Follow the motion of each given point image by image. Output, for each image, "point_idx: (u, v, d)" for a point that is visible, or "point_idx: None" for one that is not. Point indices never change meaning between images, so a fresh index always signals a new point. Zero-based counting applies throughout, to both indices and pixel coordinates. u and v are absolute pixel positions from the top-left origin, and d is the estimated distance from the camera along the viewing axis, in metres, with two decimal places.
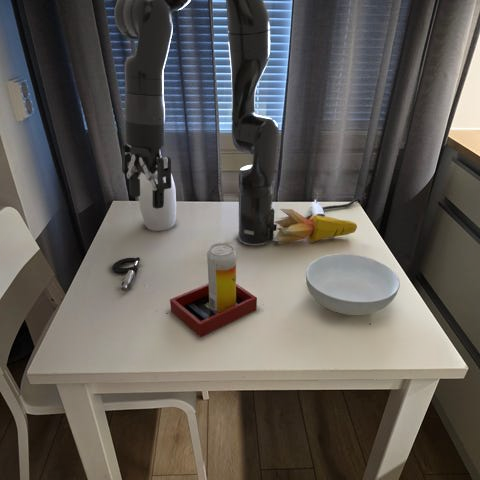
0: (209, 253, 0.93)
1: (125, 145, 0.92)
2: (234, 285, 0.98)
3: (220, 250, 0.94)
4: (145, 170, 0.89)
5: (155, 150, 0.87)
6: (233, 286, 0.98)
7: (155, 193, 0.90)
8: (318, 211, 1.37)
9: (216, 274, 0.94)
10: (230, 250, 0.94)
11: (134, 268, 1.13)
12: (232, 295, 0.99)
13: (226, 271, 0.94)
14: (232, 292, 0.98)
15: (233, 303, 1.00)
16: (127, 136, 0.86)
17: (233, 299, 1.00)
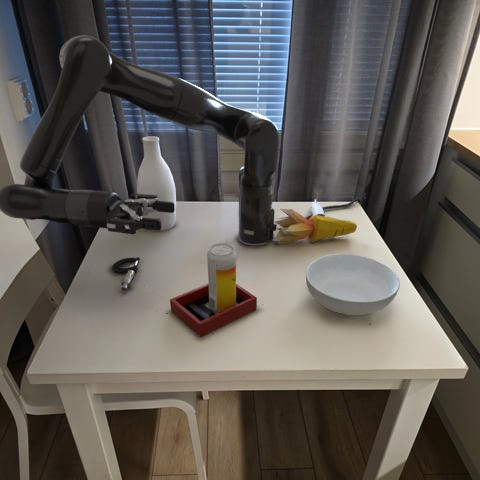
0: (209, 253, 0.93)
1: None
2: (234, 285, 0.98)
3: (220, 250, 0.94)
4: None
5: None
6: (233, 286, 0.98)
7: None
8: (318, 211, 1.37)
9: (216, 274, 0.94)
10: (230, 250, 0.94)
11: (134, 268, 1.13)
12: (232, 295, 0.99)
13: (226, 271, 0.94)
14: (232, 292, 0.98)
15: (233, 303, 1.00)
16: None
17: (233, 299, 1.00)
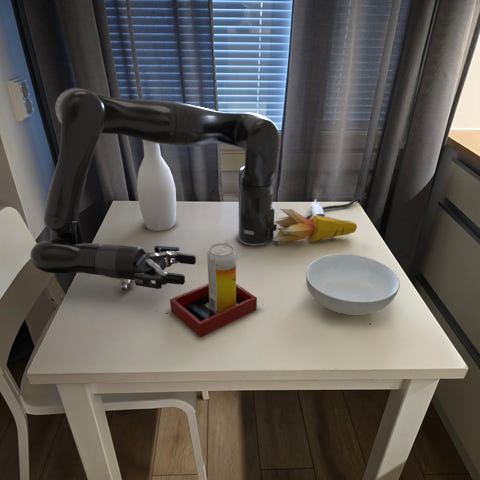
0: (209, 253, 0.93)
1: None
2: (234, 285, 0.98)
3: (220, 250, 0.94)
4: None
5: (135, 273, 0.98)
6: (233, 286, 0.98)
7: None
8: (318, 211, 1.37)
9: (216, 274, 0.94)
10: (230, 250, 0.94)
11: None
12: (232, 295, 0.99)
13: (226, 271, 0.94)
14: (232, 292, 0.98)
15: (233, 303, 1.00)
16: None
17: (233, 299, 1.00)
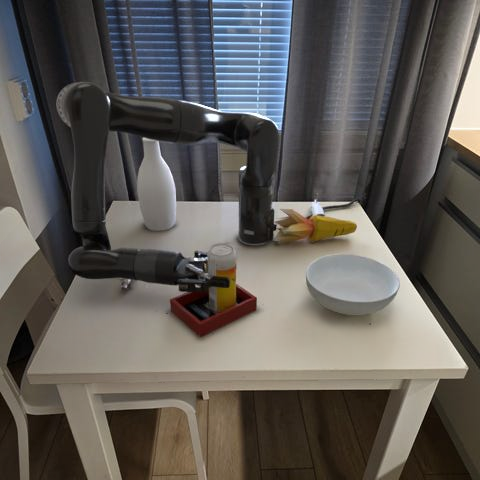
0: (209, 253, 0.93)
1: None
2: (234, 285, 0.98)
3: (220, 250, 0.94)
4: None
5: (175, 278, 0.96)
6: (233, 286, 0.98)
7: None
8: (318, 211, 1.37)
9: (216, 274, 0.94)
10: (230, 250, 0.94)
11: None
12: (232, 295, 0.99)
13: (227, 271, 0.94)
14: (232, 292, 0.98)
15: (233, 303, 1.00)
16: None
17: (233, 299, 1.00)
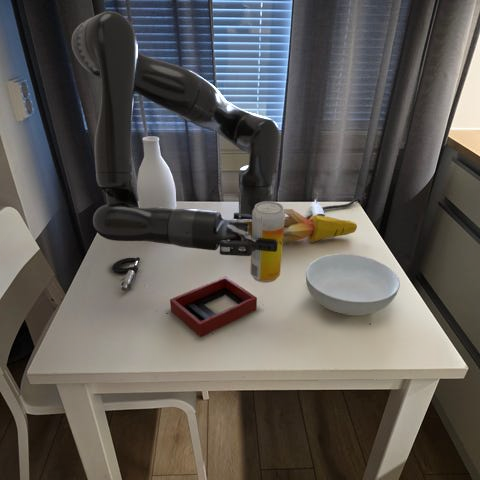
0: (255, 211, 0.82)
1: None
2: (281, 249, 0.87)
3: (267, 208, 0.83)
4: None
5: (215, 241, 0.85)
6: (280, 251, 0.86)
7: None
8: (318, 211, 1.37)
9: (262, 235, 0.83)
10: (279, 208, 0.83)
11: (134, 268, 1.13)
12: (278, 261, 0.88)
13: (274, 232, 0.83)
14: (278, 258, 0.87)
15: (278, 271, 0.89)
16: None
17: (278, 266, 0.89)
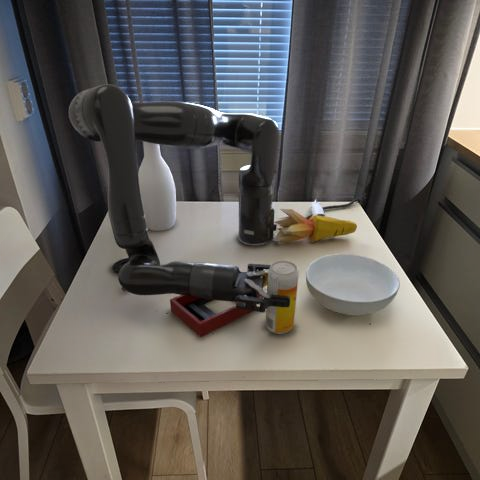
0: (271, 271, 0.88)
1: None
2: (295, 304, 0.92)
3: (282, 268, 0.88)
4: None
5: (234, 295, 0.90)
6: (293, 306, 0.92)
7: None
8: (318, 211, 1.37)
9: (277, 293, 0.89)
10: (293, 268, 0.88)
11: None
12: (292, 315, 0.93)
13: (289, 290, 0.88)
14: (292, 312, 0.93)
15: (292, 323, 0.95)
16: None
17: (292, 319, 0.94)
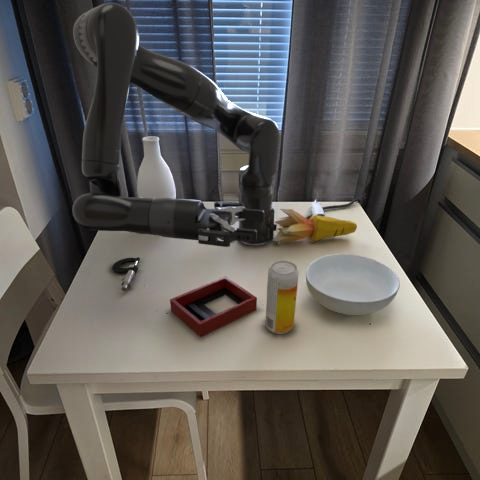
0: (271, 271, 0.88)
1: None
2: (295, 304, 0.92)
3: (282, 268, 0.88)
4: None
5: (197, 230, 0.83)
6: (293, 306, 0.92)
7: None
8: (318, 211, 1.37)
9: (277, 293, 0.89)
10: (293, 268, 0.88)
11: (134, 268, 1.13)
12: (292, 315, 0.93)
13: (289, 290, 0.88)
14: (292, 312, 0.93)
15: (292, 323, 0.95)
16: None
17: (292, 319, 0.94)
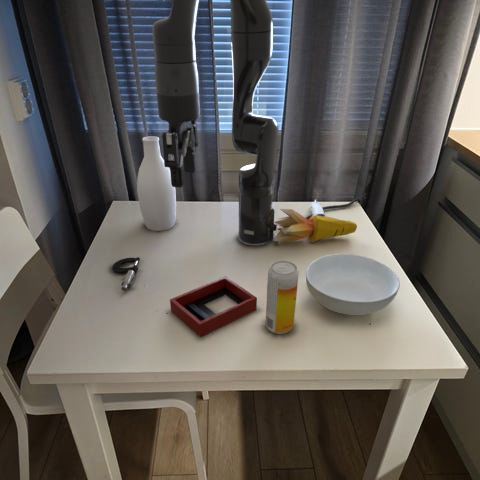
0: (271, 271, 0.88)
1: None
2: (295, 304, 0.92)
3: (282, 268, 0.88)
4: None
5: (172, 124, 0.80)
6: (293, 306, 0.92)
7: (171, 170, 0.85)
8: (318, 211, 1.37)
9: (277, 293, 0.89)
10: (293, 268, 0.88)
11: (134, 268, 1.13)
12: (292, 315, 0.93)
13: (289, 290, 0.88)
14: (292, 312, 0.93)
15: (292, 323, 0.95)
16: None
17: (292, 319, 0.94)
